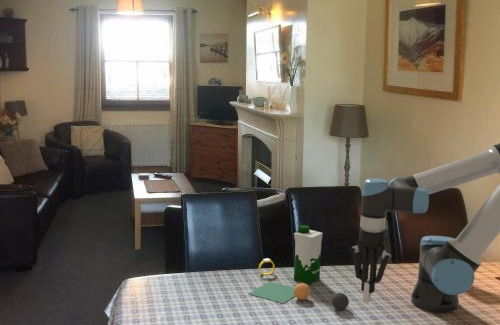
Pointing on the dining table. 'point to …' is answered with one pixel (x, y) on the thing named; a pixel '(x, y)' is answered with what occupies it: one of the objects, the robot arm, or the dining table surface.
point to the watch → (266, 262)
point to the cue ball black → (340, 301)
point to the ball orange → (301, 291)
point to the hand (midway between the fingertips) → (366, 301)
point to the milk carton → (307, 255)
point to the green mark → (274, 292)
